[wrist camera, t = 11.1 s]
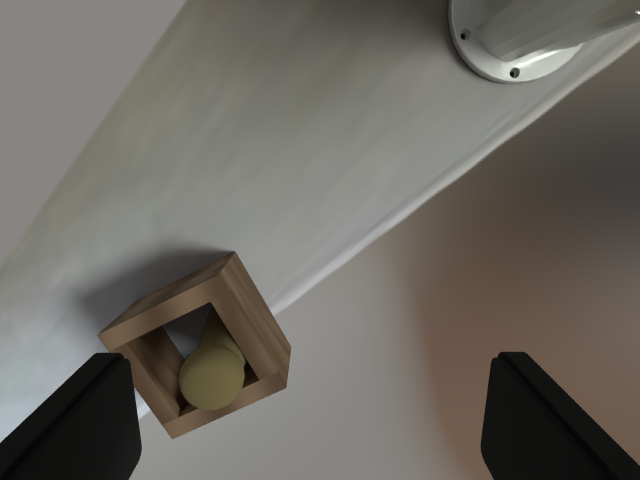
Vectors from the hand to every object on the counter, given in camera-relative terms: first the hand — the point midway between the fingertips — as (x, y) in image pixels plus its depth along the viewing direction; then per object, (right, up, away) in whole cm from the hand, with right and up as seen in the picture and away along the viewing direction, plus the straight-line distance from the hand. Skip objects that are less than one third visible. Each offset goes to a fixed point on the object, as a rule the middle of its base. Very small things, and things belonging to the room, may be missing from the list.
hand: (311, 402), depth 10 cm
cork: (-9, -5, +31) cm, 32 cm away
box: (-11, -5, +30) cm, 33 cm away
